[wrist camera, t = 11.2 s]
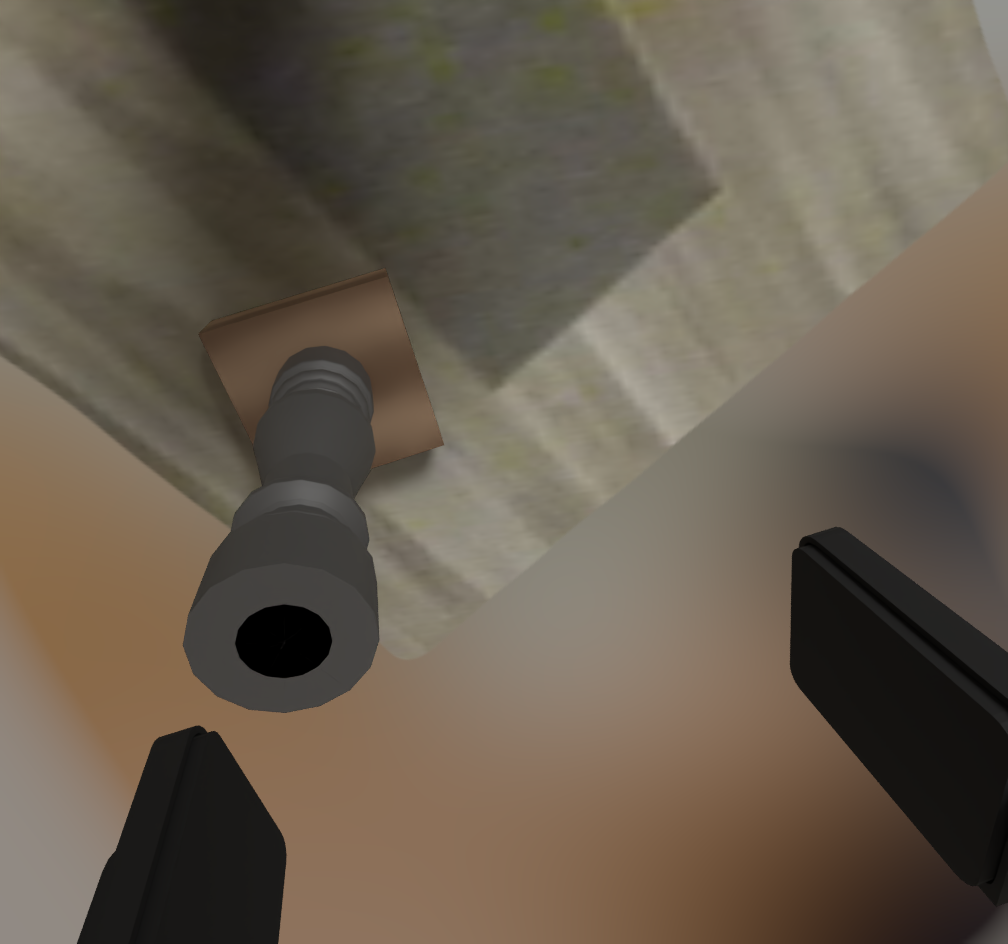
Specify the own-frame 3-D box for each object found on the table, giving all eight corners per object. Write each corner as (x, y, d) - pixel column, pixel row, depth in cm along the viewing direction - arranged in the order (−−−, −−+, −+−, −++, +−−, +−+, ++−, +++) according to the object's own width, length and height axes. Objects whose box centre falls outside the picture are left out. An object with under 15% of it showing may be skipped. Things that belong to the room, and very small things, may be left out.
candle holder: (388, 372, 42) (421, 595, 20) (349, 450, 43) (337, 737, 21) (298, 328, 39) (218, 525, 17) (259, 412, 41) (143, 691, 19)
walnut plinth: (212, 320, 42) (198, 334, 38) (385, 268, 43) (387, 276, 39) (285, 474, 47) (279, 498, 44) (437, 425, 48) (444, 444, 45)
